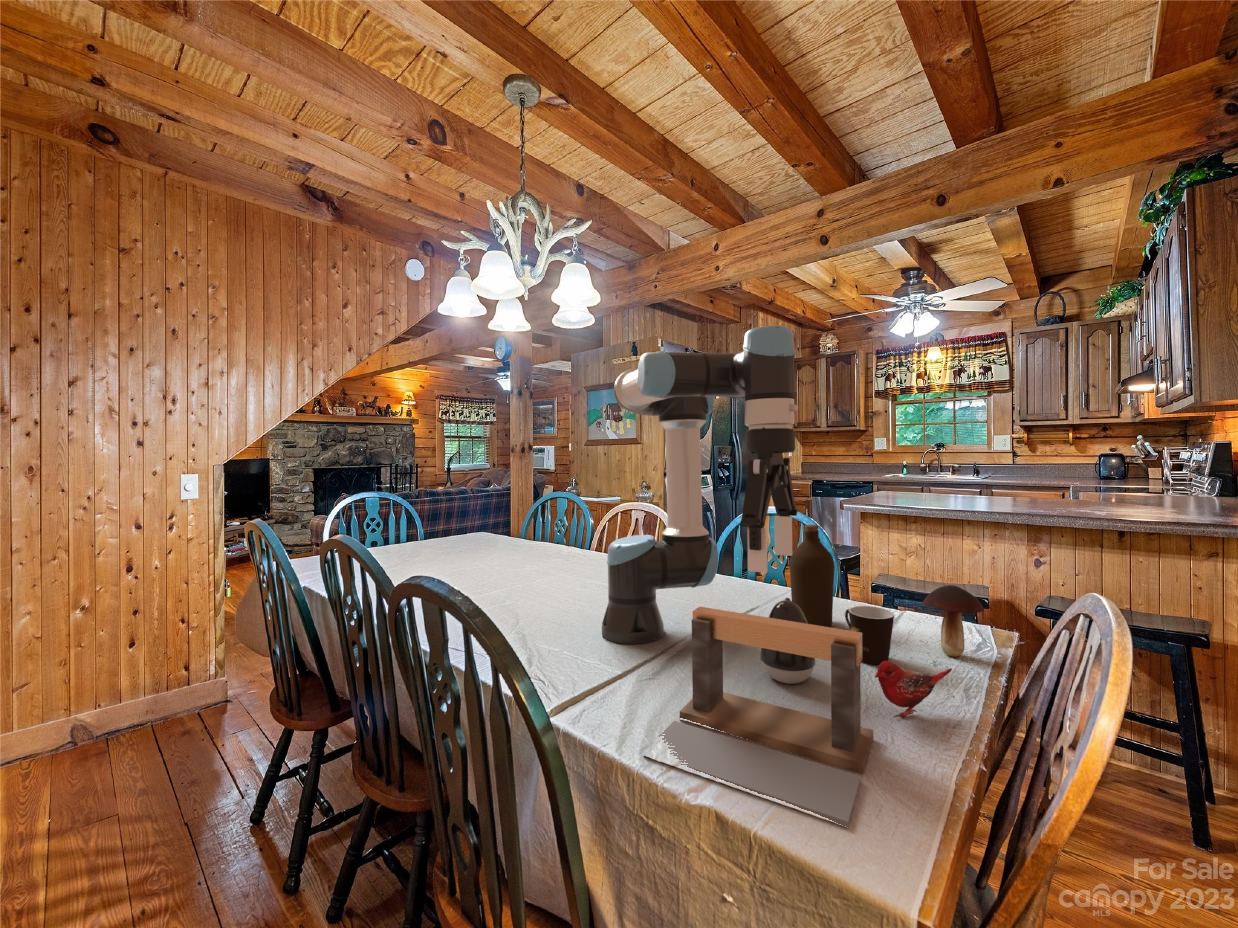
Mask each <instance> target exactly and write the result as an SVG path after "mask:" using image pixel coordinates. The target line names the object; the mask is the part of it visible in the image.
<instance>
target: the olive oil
mask: <svg viewBox="0 0 1238 928" xmlns="http://www.w3.org/2000/svg"><path fill="white" fill-rule="evenodd" d="M803 532H804V533H803V535H804V539H803V541H802V542H800V544H798V546H797V547H796V548H795V549H794V550H792V556H790V559H789V577H790V578H789V579H790V591H791V592H790V593H791V595H790V596H791V601H792V602H794V603H796V604H797V605H798V606H799V607H800V609H801V610H802V612H803V613H804V615H805V618H806V620H807V623H808V624H812V625H818V626H824V627H830V628H832V626H833V609H834V608H833V605H834V603H833V602H834V589H835V588H834V587H835V586H834V584H835V570H836V568H835V561H834V558H833V556H832V553H831V552H830V551H829V550H828V549H827V548H826V547H825V546H824V545H823V543H821V541H820V540H819V536H820V535H819V534H820V533H819V525H817V524H814V523H813V524H812V523H811V524H809V523H808V524H804V531H803Z"/></svg>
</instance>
